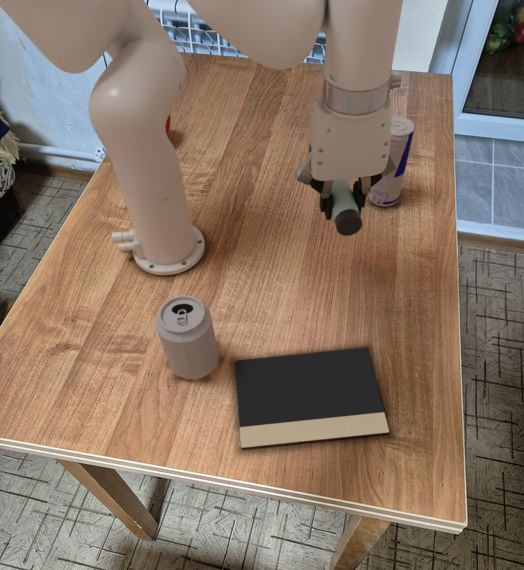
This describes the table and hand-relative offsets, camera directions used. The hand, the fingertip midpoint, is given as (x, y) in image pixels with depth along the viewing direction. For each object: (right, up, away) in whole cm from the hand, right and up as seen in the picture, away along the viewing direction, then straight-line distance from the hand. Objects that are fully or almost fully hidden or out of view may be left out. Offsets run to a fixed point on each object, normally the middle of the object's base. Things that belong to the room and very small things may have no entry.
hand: (341, 211), depth 75 cm
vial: (0, 0, 0) cm, 0 cm away
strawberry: (-33, +23, +34) cm, 53 cm away
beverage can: (+11, +8, +21) cm, 25 cm away
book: (-5, -27, -2) cm, 28 cm away
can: (-22, -22, +2) cm, 31 cm away
